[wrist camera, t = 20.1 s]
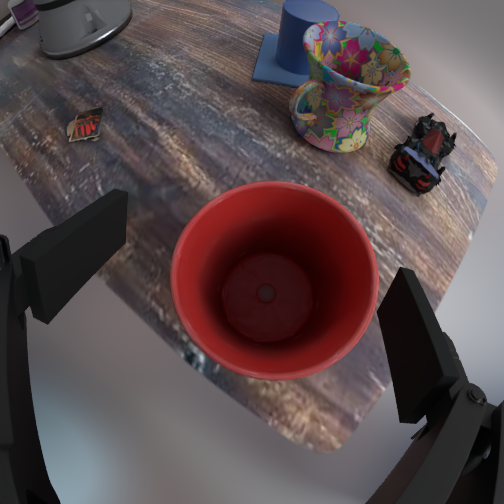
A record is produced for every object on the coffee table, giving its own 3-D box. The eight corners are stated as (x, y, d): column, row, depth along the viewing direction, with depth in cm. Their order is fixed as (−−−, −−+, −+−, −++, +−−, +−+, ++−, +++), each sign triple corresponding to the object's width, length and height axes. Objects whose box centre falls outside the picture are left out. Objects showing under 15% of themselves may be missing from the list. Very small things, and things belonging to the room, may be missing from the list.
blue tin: (278, 42, 34) (286, -7, 26) (324, 51, 34) (338, 4, 26) (272, 69, 32) (280, 15, 25) (323, 80, 32) (340, 28, 25)
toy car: (379, 166, 30) (395, 144, 26) (420, 112, 33) (434, 92, 29) (423, 205, 29) (444, 187, 25) (456, 144, 32) (473, 126, 28)
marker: (44, -2, 40) (41, -9, 37) (48, -2, 39) (45, -10, 37) (-17, 51, 35) (-21, 44, 33) (-13, 51, 35) (-18, 44, 33)
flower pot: (230, 213, 27) (220, 151, 18) (350, 262, 26) (400, 223, 17) (177, 330, 25) (135, 327, 15) (305, 383, 24) (337, 409, 14)
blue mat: (264, 34, 35) (265, 32, 35) (339, 49, 35) (339, 47, 35) (252, 80, 32) (252, 77, 32) (339, 97, 32) (340, 95, 32)
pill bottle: (46, 13, 38) (32, -22, 28) (29, 29, 36) (13, -6, 27) (31, 15, 38) (16, -16, 29) (14, 31, 36) (-2, -1, 27)
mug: (326, 82, 33) (349, 12, 22) (385, 135, 31) (428, 70, 21) (246, 128, 30) (252, 46, 20) (312, 192, 29) (348, 121, 18)
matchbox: (102, 104, 30) (101, 102, 30) (107, 136, 29) (105, 134, 29) (66, 120, 30) (65, 118, 29) (68, 153, 29) (66, 151, 28)
